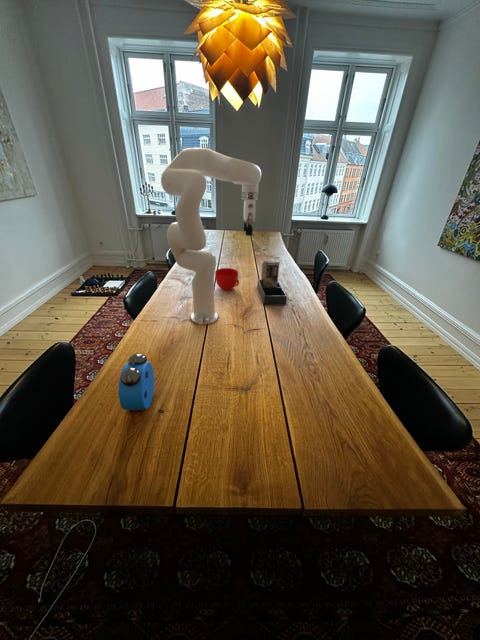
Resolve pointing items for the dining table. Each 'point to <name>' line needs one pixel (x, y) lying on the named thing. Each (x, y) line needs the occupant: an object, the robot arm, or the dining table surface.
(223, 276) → the ceramic cup
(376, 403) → the dining table surface
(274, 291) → the black divided tray
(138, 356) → the alarm clock
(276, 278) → the coffee box
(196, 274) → the robot arm
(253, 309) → the dining table surface
